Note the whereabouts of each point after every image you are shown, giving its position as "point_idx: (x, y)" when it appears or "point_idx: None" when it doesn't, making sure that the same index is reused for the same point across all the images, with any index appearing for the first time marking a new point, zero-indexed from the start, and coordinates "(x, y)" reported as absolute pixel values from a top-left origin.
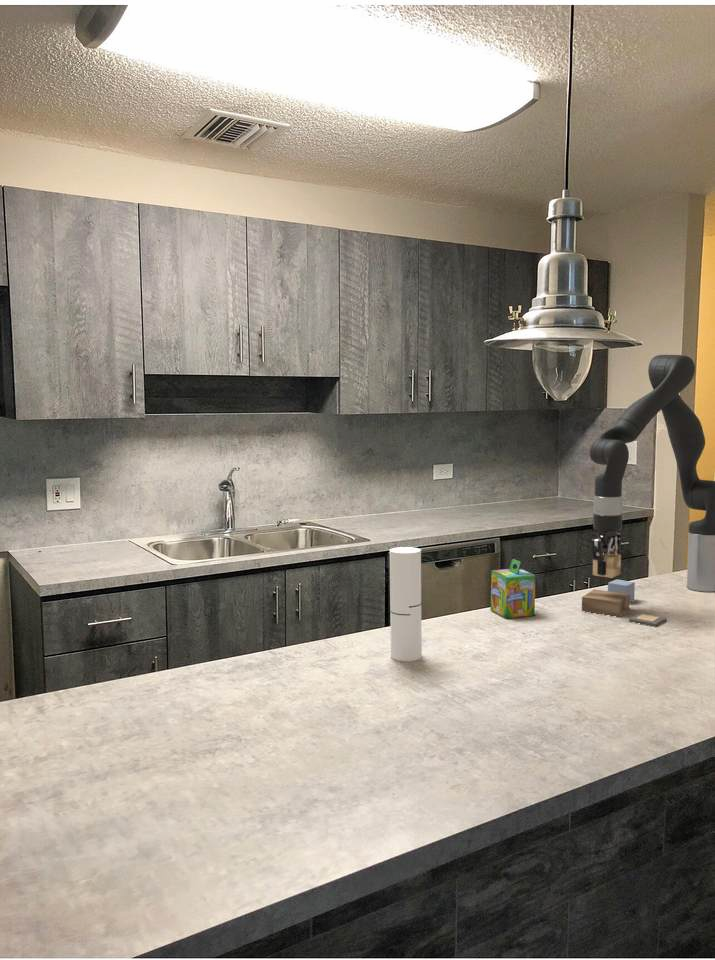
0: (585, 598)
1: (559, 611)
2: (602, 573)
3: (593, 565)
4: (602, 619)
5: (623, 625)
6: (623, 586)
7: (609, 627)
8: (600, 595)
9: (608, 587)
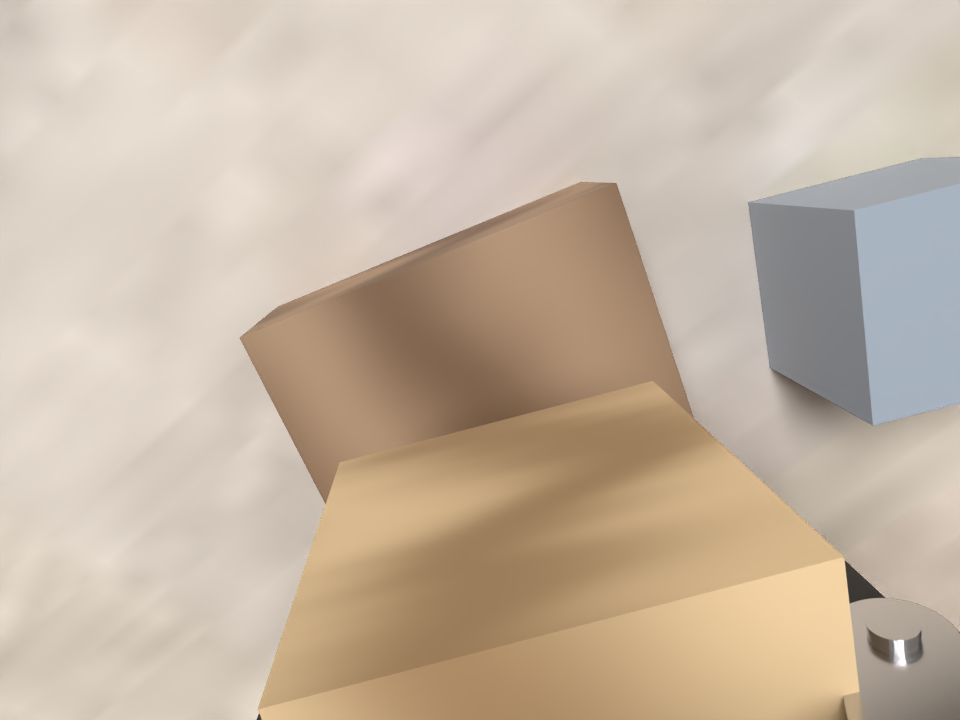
0: (261, 368)
1: (104, 177)
2: None
3: (312, 562)
4: (259, 541)
5: None
6: (862, 388)
7: (152, 688)
8: (455, 404)
9: (821, 214)
